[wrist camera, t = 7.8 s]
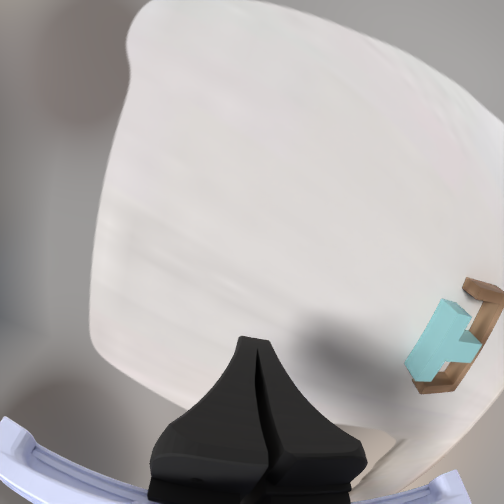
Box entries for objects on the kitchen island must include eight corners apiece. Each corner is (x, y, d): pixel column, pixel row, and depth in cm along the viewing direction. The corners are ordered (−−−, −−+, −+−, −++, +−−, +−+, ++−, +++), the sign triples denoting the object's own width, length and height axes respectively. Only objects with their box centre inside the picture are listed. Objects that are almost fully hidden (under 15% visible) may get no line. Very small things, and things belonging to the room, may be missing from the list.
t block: (446, 366, 26) (457, 381, 23) (404, 363, 25) (415, 381, 22) (480, 309, 23) (494, 322, 20) (441, 298, 23) (457, 313, 20)
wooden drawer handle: (445, 378, 26) (453, 391, 24) (411, 380, 26) (420, 394, 24) (496, 285, 22) (509, 295, 20) (466, 277, 22) (481, 287, 19)
